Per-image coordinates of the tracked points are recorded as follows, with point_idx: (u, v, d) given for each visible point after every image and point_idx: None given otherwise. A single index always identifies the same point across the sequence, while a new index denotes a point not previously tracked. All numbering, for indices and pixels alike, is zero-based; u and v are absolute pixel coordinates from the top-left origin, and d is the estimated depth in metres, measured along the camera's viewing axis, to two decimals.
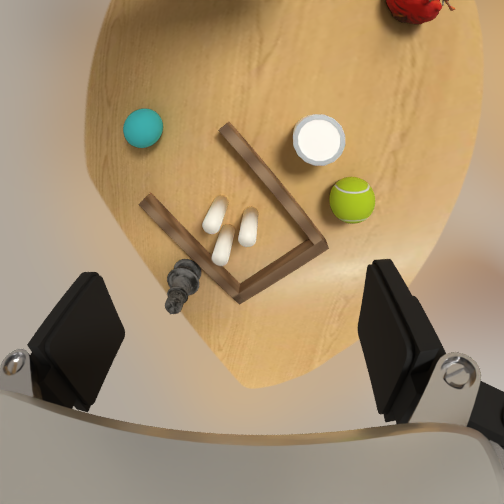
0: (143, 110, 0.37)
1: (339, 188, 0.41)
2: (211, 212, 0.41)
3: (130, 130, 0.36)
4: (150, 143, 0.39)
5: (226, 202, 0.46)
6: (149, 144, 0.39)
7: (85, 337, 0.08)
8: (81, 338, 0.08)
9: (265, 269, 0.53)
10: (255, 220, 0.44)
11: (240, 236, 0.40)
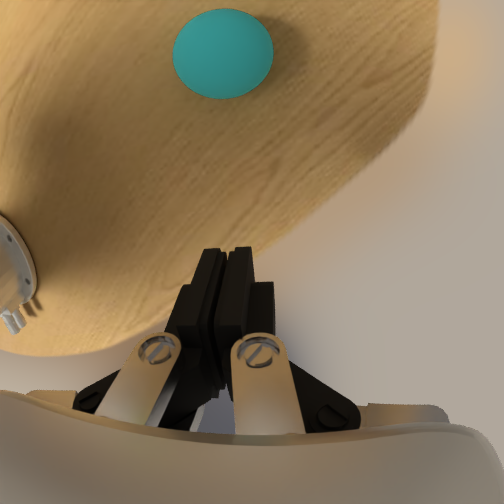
0: (184, 83, 0.15)
1: None
2: None
3: (225, 53, 0.12)
4: (221, 9, 0.12)
5: None
6: (226, 9, 0.12)
7: None
8: None
9: None
10: None
11: None
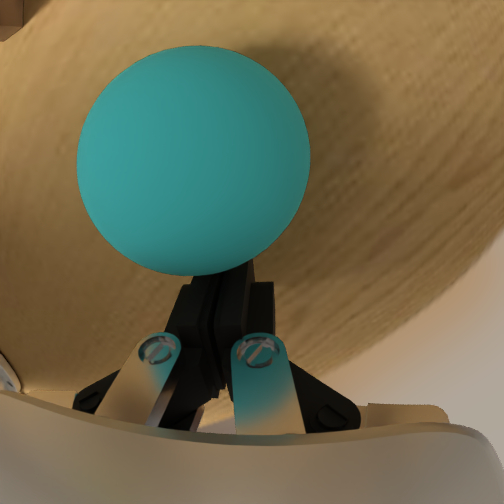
0: None
1: None
2: None
3: (182, 221, 0.05)
4: (173, 51, 0.05)
5: None
6: (186, 49, 0.05)
7: None
8: None
9: None
10: None
11: None
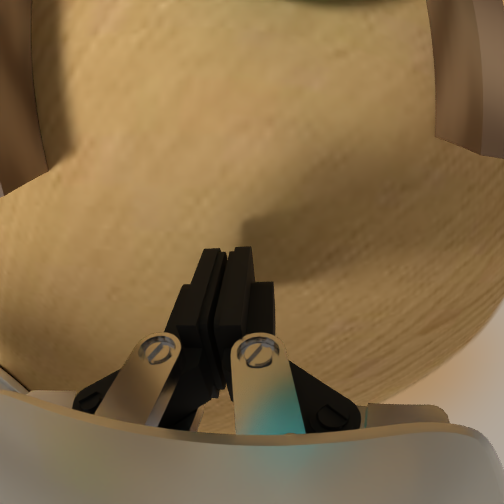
0: None
1: None
2: None
3: None
4: None
5: None
6: None
7: None
8: None
9: None
10: None
11: None
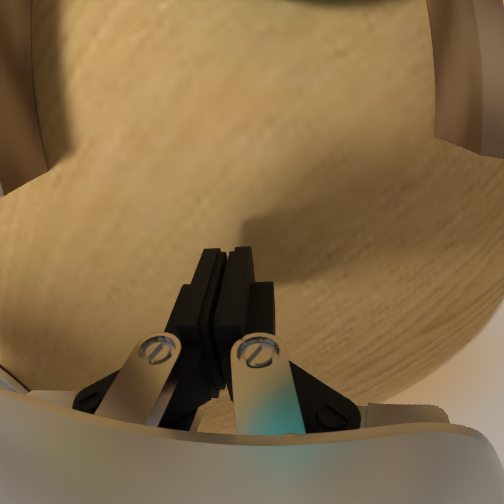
0: None
1: None
2: None
3: None
4: None
5: None
6: None
7: None
8: None
9: None
10: None
11: None
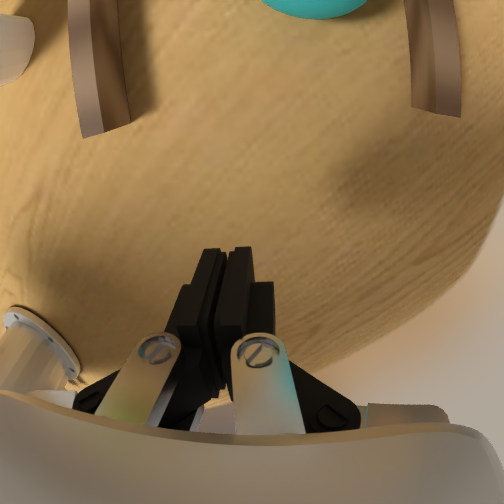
0: None
1: None
2: None
3: (309, 18, 0.10)
4: None
5: None
6: None
7: None
8: None
9: None
10: None
11: None
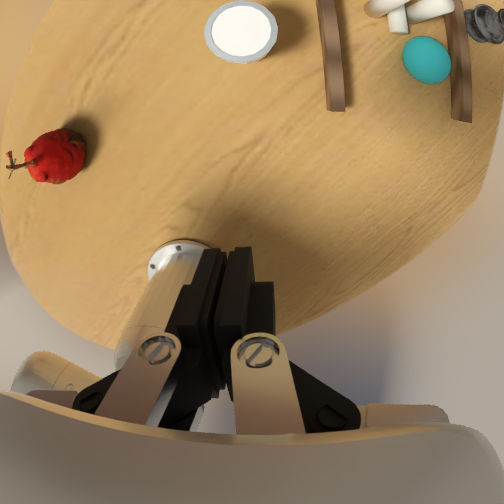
0: (403, 61, 0.25)
1: None
2: None
3: (424, 82, 0.26)
4: (445, 70, 0.22)
5: (388, 21, 0.24)
6: (446, 70, 0.22)
7: None
8: None
9: None
10: None
11: None
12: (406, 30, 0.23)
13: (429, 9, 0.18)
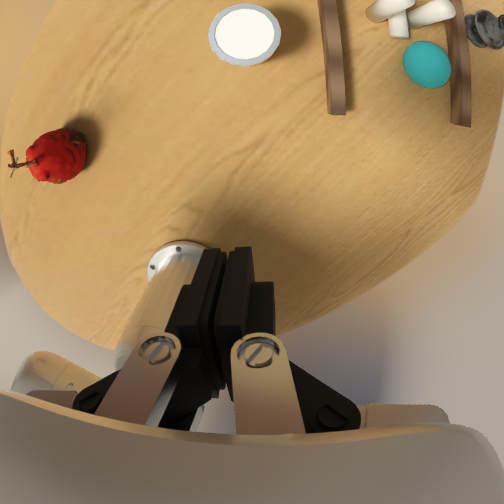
0: (404, 65, 0.26)
1: None
2: None
3: None
4: (445, 75, 0.23)
5: (389, 26, 0.24)
6: (446, 75, 0.23)
7: None
8: None
9: None
10: (377, 4, 0.21)
11: (409, 4, 0.17)
12: (406, 35, 0.24)
13: (430, 14, 0.18)
